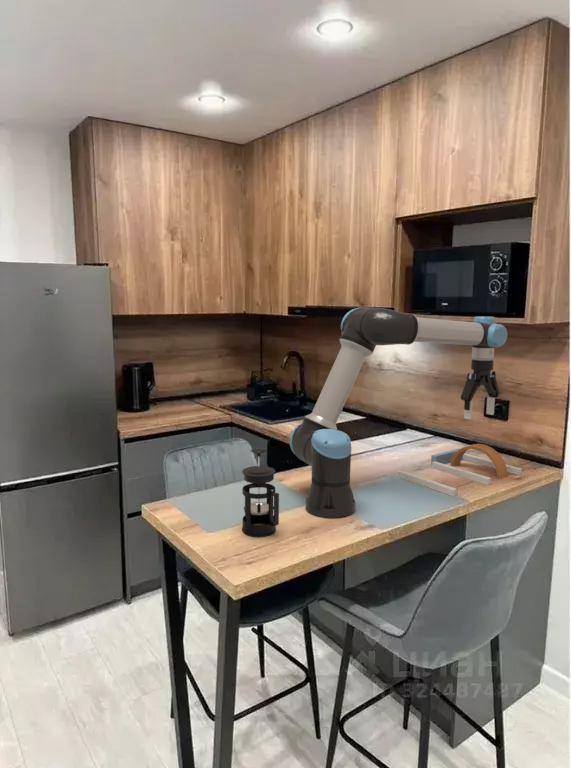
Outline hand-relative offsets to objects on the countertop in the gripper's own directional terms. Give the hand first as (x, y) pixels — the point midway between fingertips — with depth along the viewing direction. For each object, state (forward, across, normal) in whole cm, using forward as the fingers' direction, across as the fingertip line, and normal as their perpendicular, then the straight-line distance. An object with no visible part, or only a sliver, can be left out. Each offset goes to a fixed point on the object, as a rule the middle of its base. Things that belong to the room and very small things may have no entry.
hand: (479, 416), depth 195 cm
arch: (+21, 0, -1) cm, 21 cm away
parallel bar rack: (+21, -10, 0) cm, 23 cm away
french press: (+21, -95, +2) cm, 97 cm away
